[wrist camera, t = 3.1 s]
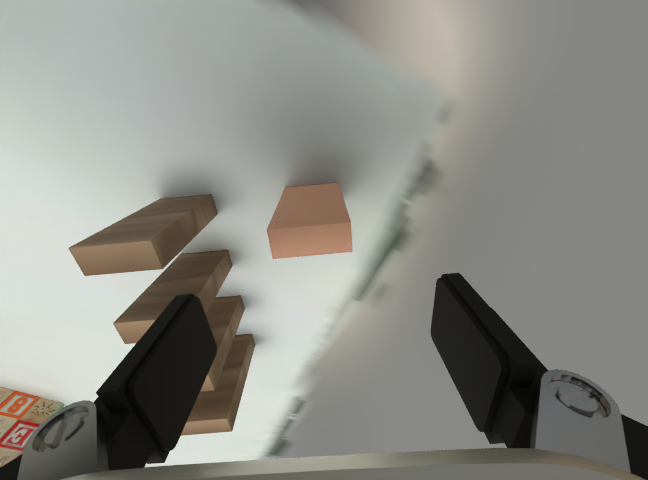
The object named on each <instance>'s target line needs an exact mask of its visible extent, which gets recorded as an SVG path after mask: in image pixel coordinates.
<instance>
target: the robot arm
mask: <svg viewBox="0 0 648 480" xmlns="http://www.w3.org/2000/svg"><path fill="white" fill-rule="evenodd" d="M431 337H432V339H433V342H434V344H435V346H436V348H437V350H438V352H439V354H440V356H441V358H442V360H443V362H444V364H445V366H446V368H447V370H448V372H449V374H450V376H451V378H452V380H453V382H454V384H455V385H456V388H457V390H458V392H459V394H460V395H461V398H462V400H463V402H464V404H465V405H466V408H467V409H468V412H469V413H470V415H471V418H472V420H473V421H474V424H475V425H476V427H477V429H478V430H479V431H480V432H484V433H485V435H486V437H487V439H488V441H489V443H490V444H496V443H505V444H506V446H507V448H489V449H488V448H487V449H456V450H433V451H414V452H413V451H412V452H393V453H375V454H356V455H338V456H319V457H303V458H285V459H268V460H251V461H235V462H219V463H203V464H188V465H172V466H158V467H147V468H144V466H145V464H146V462H147V464H152V463H164V462H165V460H166V458H167V456H168V454H169V451H170V450H173V449H174V448H175V446H176V444H177V442H178V440H179V438H180V436H181V433H182V431H183V429H184V427H185V424H186V422H187V420H188V418H189V415H190V413H191V411H192V409H193V406H194V404H195V402H196V400H197V397H198V395H199V393H200V391H201V388H202V386H203V384H204V382H205V379H206V377H207V375H208V373H209V370H210V368H211V366H212V364H213V361H214V359H215V357H216V354H217V344H216V342H215V339H214V336H213V334H212V331H211V328H210V325H209V323H208V320H207V317H206V314H205V312H204V309H203V306H202V304H201V301H200V299H199V298H198V297H196V296H195V295H194V294H180V295H176V296H175V297H174V298H173V300H172V301H171V302H170V303H169V304H168V306H167V307H166V308H165V309H164V310H163V312H162V313H161V314H160V315H159V317H158V318H157V319H156V320H155V321H154V323H153V324H152V325H151V326H150V327H149V329H148V330H147V331H146V332H145V334H144V335H143V336H142V337H141V338H140V340H139V341H138V342H137V343H136V345H135V346H134V347H133V348H132V349H131V351H130V352H129V353H128V354H127V355H126V357H125V358H124V359H123V360H122V362H121V363H120V364H119V365H118V366H117V368H116V369H115V370H114V371H113V372H112V374H111V375H110V376H109V377H108V379H107V380H106V381H105V382H104V383H103V385H102V386H101V387H100V388H99V390H98V391H97V392H96V393H97V395H98V396H99V397H98V398H97V399H96V400H95V402H94V403H93V402H91V401H79V402H75V403H72V404H70V405H68V406H66V407H64V408H62V409H60V410H59V411H57V412H56V413H54V414H52V415H51V416H50V417H49V418H47V419H46V420H45V421H44V422H42V423H41V424H40V426H39V427H38V428H37V429H36V430H35V431H34V432H33V433H32V434H31V436H30V437H29V439H28V440H27V442H26V444H25V447H24V449H23V454H21V455H20V456H18V457H16V458H15V459H13V460H12V461H10V462H8V463H7V464H5V465H3V466H2V467H0V480H648V426H645V425H643V424H641V423H639V422H637V421H635V420H633V419H631V418H628V417H626V416H624V415H622V414H621V413H620V410H619V408H618V405H617V403H616V402H615V401H614V400H613V398H612V397H611V396H610V395H609V394H608V393H607V392H606V391H605V390H604V389H602V388H601V387H600V386H599V385H597V384H596V383H594V382H592V381H591V380H589V379H587V378H585V377H583V376H581V375H579V374H576V373H573V372H569V371H567V370H558V369H555V370H549V371H548V370H547V369H546V368H545V367H544V365H543V364H542V363H541V362H540V361H539V360H538V359H537V358H536V356H535V355H534V354H533V353H532V352H531V351H530V350H529V349H528V348H527V346H526V345H525V344H524V343H523V342H522V341H521V340H520V339H519V338H518V337H517V335H516V334H515V333H514V332H513V331H512V330H511V329H510V328H509V326H508V325H507V324H506V323H505V322H504V321H503V320H502V319H501V318H500V317H499V315H498V314H497V313H496V312H495V311H494V310H493V309H492V308H491V307H489V306H488V304H487V303H486V302H485V301H484V300H483V299H482V298H481V297H480V296H479V294H478V293H477V292H476V291H475V290H474V289H473V288H472V287H471V285H470V284H469V283H468V282H467V281H466V280H465V279H464V278H463V276H462V275H461V274H459V273H451V274H443V275H442V276H441V278H438V279H437V283H436V291H435V299H434V308H433V315H432V323H431Z"/></svg>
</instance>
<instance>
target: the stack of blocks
mask: <svg viewBox="0 0 648 480" xmlns="http://www.w3.org/2000/svg"><path fill="white" fill-rule="evenodd" d="M62 408H63V403H60V402H56V401H52V400H48V399H44V398H40V397H38V396H34V395H30V394H26V393H22V392H18V391H14V390H10V389H7V388H3V387H0V467H2V466H3V465H5V464H7V463H8V462H10V461H12V460H13V459H15V458H16V457H18V456H20V455H21V454H23V449H24V447H25V444H26V442H27V440H28V439H29V437H30V436H31V434H32V433H33V432H34V431H35V430H36V429H37V428H38V427H39V426H40V424H41V423H42V422H44V421H45V420H46V419H47V418H49V417H50V416H51V415H52V414H54V413H56V412H57V411H59V410H60V409H62Z"/></svg>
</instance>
